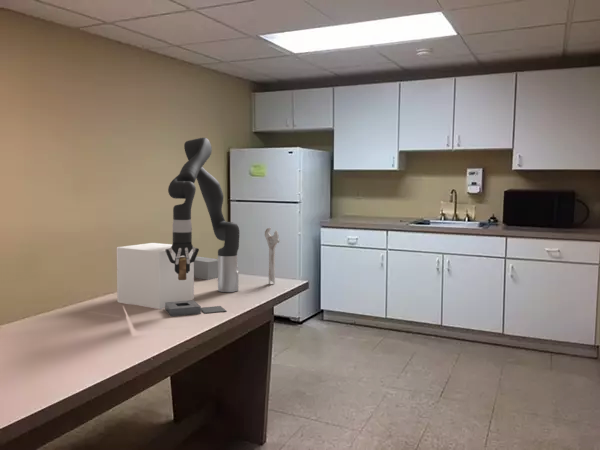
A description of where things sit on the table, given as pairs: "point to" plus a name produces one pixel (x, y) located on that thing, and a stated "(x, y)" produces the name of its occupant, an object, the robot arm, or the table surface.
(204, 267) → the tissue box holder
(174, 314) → the gray square frame
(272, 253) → the wrench
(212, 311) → the mat
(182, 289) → the cube
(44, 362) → the table surface
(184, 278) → the wooden peg
